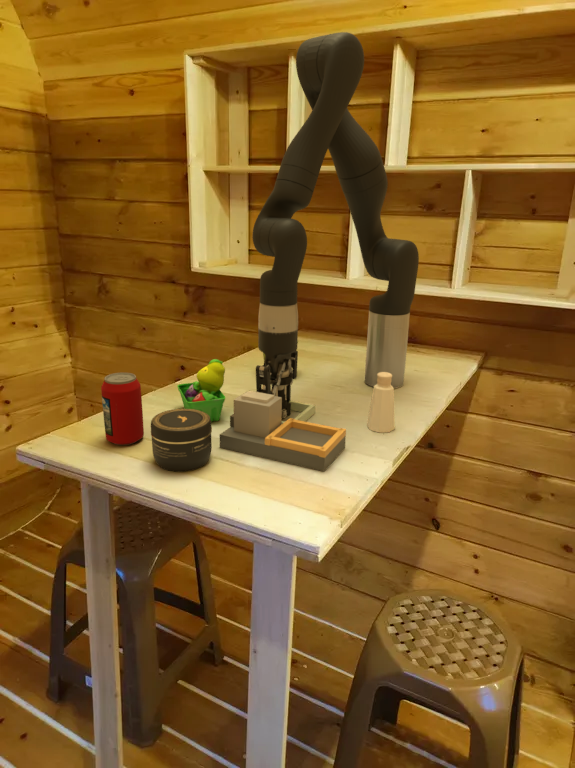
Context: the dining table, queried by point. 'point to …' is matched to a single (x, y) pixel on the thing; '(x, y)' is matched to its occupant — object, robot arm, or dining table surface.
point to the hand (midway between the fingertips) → (277, 407)
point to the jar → (181, 439)
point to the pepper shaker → (382, 405)
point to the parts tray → (302, 410)
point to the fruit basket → (205, 390)
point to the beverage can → (122, 408)
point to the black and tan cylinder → (284, 392)
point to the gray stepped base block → (280, 434)
